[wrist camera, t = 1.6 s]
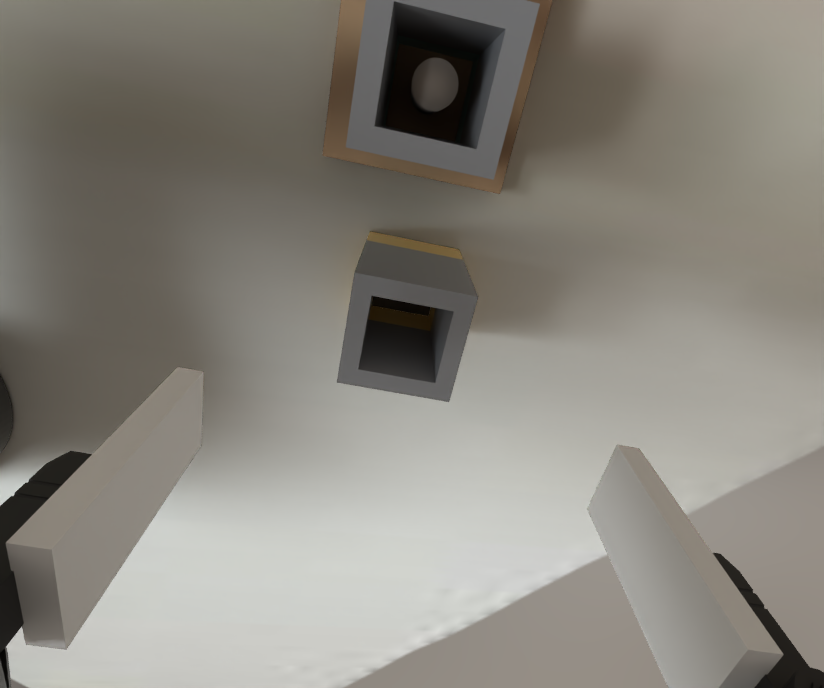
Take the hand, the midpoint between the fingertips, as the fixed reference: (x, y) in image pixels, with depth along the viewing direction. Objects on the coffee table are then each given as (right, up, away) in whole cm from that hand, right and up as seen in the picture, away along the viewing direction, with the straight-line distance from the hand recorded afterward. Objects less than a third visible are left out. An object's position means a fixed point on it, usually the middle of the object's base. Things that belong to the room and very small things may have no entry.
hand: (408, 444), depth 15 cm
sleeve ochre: (0, +7, +15) cm, 17 cm away
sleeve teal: (+1, +16, +10) cm, 19 cm away
